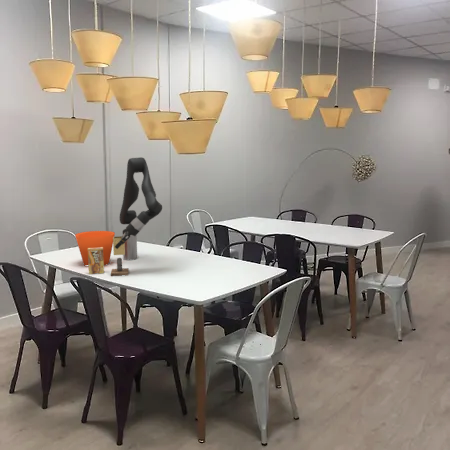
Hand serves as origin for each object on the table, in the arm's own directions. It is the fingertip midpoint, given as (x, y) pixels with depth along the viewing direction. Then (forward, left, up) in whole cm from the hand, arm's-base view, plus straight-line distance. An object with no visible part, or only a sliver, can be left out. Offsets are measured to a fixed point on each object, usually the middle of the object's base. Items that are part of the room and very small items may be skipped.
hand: (116, 246), depth 290 cm
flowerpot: (-27, -18, -17) cm, 37 cm away
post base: (0, +2, -16) cm, 16 cm away
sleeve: (0, +2, -4) cm, 5 cm away
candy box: (-2, -13, -17) cm, 21 cm away
